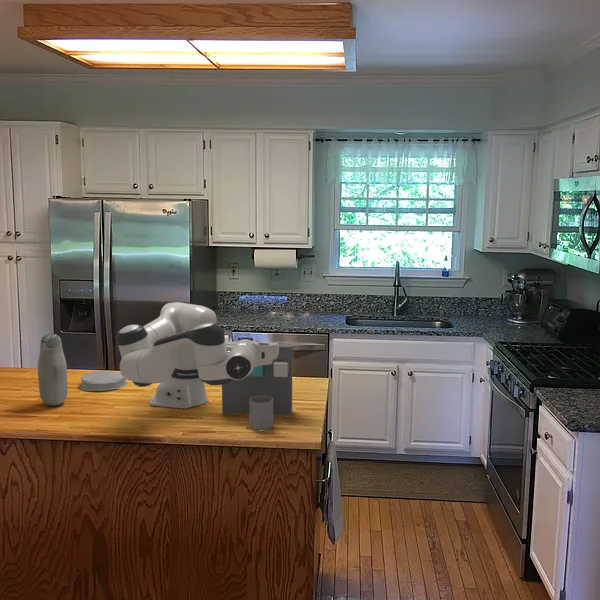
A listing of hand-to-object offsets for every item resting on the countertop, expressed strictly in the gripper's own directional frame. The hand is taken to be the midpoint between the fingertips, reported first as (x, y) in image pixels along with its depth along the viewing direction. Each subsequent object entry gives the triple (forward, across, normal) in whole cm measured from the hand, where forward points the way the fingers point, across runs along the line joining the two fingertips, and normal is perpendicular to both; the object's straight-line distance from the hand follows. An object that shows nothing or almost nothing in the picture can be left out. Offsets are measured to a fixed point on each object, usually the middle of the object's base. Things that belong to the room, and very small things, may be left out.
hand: (250, 343), depth 213 cm
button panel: (+22, 0, -32) cm, 39 cm away
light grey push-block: (+20, +9, -16) cm, 28 cm away
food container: (+51, -69, -33) cm, 92 cm away
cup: (+8, +3, -32) cm, 33 cm away
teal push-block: (+20, 0, -17) cm, 26 cm away
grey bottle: (+25, -79, -32) cm, 89 cm away
